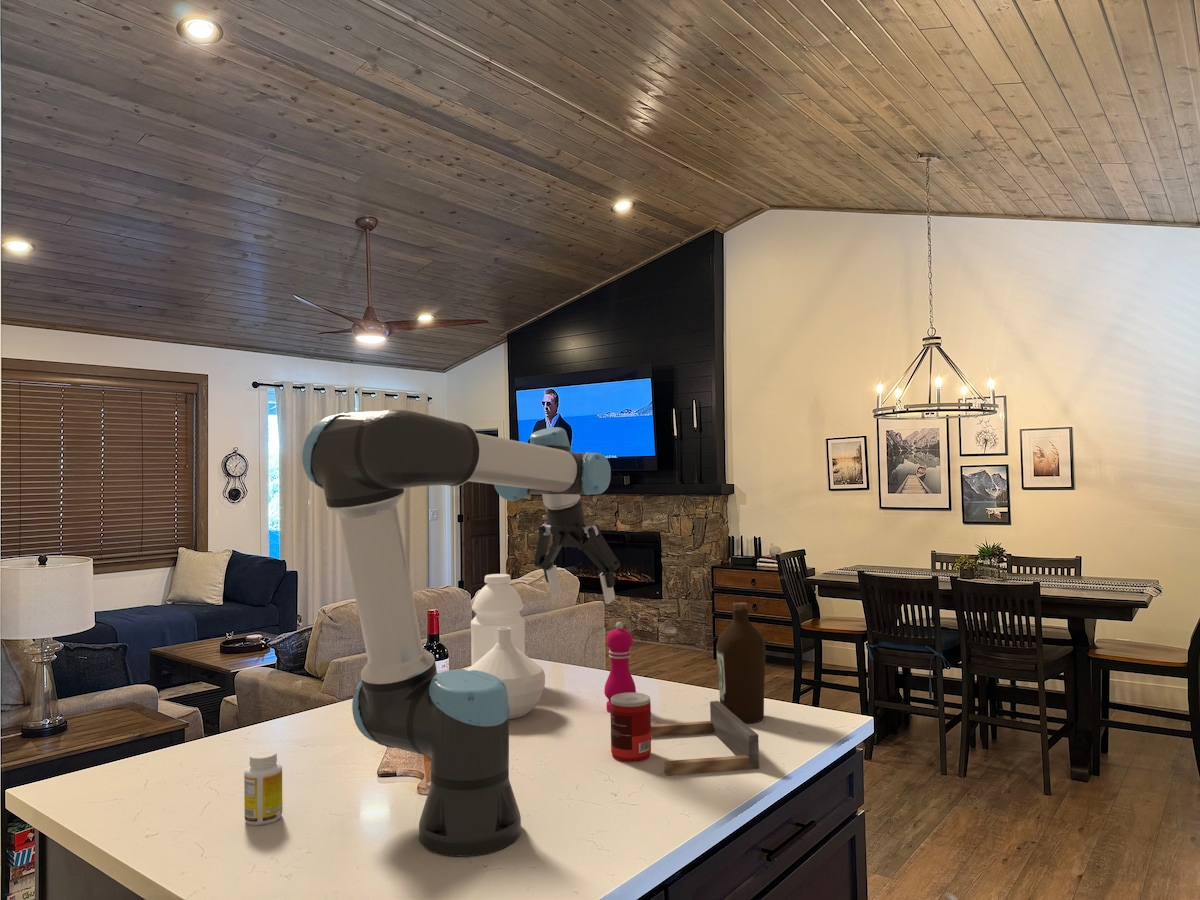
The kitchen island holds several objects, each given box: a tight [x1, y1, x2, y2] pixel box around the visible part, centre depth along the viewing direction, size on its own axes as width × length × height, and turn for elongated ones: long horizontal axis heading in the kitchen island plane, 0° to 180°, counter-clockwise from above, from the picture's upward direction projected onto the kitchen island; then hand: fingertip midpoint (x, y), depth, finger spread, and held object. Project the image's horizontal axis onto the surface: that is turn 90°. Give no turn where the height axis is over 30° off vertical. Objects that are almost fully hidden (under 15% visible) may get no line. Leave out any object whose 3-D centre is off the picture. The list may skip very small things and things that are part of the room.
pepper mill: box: [603, 621, 637, 714], centre depth 189 cm, size 7×7×20 cm
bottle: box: [470, 573, 526, 666], centre depth 213 cm, size 14×14×28 cm
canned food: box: [610, 692, 652, 763], centre depth 159 cm, size 8×8×11 cm
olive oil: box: [716, 601, 767, 724], centre depth 183 cm, size 11×11×25 cm
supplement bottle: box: [243, 749, 283, 826], centre depth 131 cm, size 6×6×10 cm
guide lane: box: [651, 700, 760, 776], centre depth 161 cm, size 17×23×6 cm
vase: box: [466, 627, 546, 720], centre depth 188 cm, size 18×18×19 cm
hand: (583, 598), depth 173 cm, fingers open, 13 cm apart
